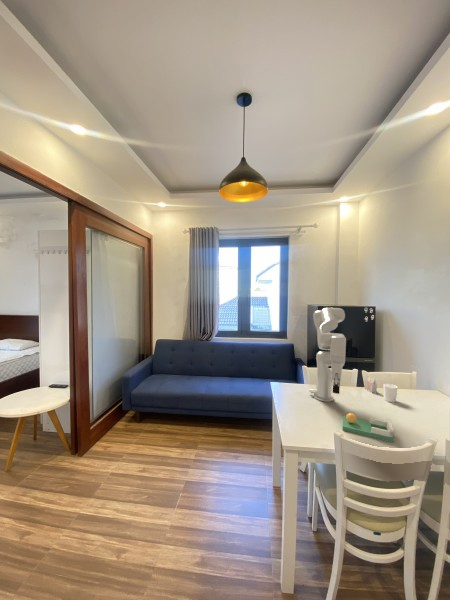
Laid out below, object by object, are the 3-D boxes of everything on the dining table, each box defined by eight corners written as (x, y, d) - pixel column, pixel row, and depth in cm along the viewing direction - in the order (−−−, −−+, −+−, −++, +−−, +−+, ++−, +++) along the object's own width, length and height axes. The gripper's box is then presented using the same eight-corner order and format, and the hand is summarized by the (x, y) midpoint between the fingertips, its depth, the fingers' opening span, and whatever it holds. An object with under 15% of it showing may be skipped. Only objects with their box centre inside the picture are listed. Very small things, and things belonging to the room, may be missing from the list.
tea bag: (369, 389, 184) (370, 375, 183) (376, 392, 177) (377, 379, 176) (365, 389, 183) (365, 375, 183) (371, 392, 176) (372, 379, 176)
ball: (345, 423, 130) (346, 414, 130) (345, 419, 135) (346, 410, 134) (356, 426, 128) (357, 416, 128) (356, 421, 132) (356, 412, 132)
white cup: (379, 397, 168) (380, 383, 168) (390, 397, 169) (391, 383, 169) (388, 403, 161) (389, 388, 160) (399, 402, 161) (400, 387, 161)
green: (342, 430, 128) (343, 418, 128) (342, 419, 139) (343, 408, 138) (393, 442, 118) (393, 430, 118) (389, 429, 129) (389, 418, 129)
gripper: (330, 354, 143) (329, 383, 144) (329, 361, 127) (327, 394, 128) (345, 355, 140) (343, 386, 140) (345, 363, 124) (343, 397, 125)
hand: (336, 389), depth 134 cm, fingers open, 8 cm apart
